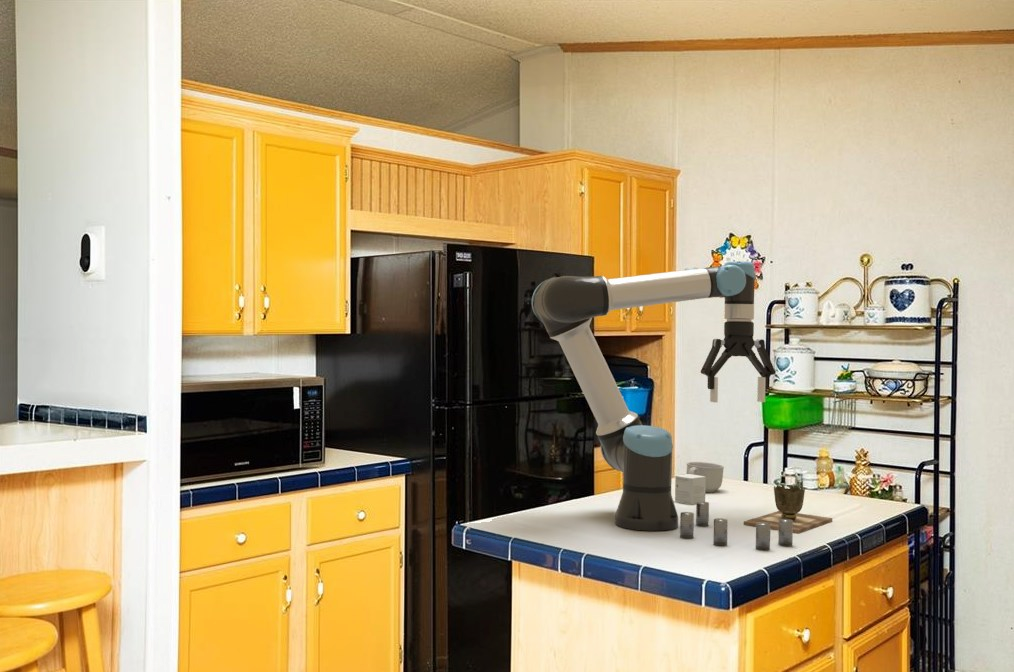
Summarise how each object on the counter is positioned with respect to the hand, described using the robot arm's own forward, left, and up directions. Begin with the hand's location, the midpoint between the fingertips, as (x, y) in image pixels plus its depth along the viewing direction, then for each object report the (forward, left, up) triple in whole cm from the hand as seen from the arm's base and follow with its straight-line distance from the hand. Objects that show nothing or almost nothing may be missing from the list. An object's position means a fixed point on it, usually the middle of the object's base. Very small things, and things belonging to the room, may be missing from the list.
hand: (737, 402), depth 253 cm
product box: (-6, +15, -29) cm, 33 cm away
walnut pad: (+6, -16, -29) cm, 33 cm away
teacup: (+5, +31, -29) cm, 43 cm away
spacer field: (-17, -28, -29) cm, 43 cm away
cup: (+6, -16, -28) cm, 33 cm away
